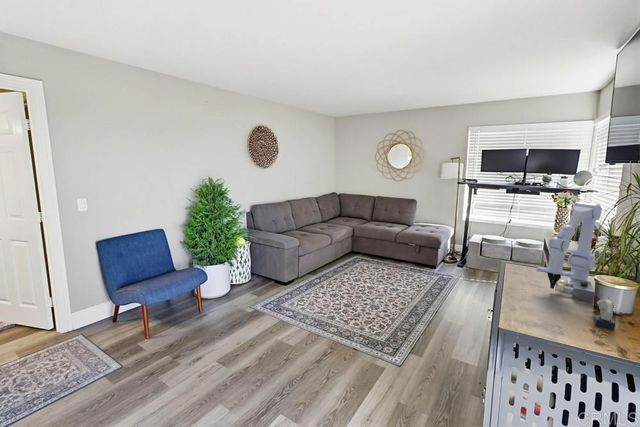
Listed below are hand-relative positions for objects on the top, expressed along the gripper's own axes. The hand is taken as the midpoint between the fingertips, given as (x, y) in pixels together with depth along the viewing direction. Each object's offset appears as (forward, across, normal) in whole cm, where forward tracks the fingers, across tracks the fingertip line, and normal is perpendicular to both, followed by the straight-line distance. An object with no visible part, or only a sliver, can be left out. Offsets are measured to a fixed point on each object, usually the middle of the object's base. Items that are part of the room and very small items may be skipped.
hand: (551, 287), depth 155 cm
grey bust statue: (+2, +16, -28) cm, 32 cm away
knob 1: (+1, +7, 0) cm, 7 cm away
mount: (+2, +12, +4) cm, 12 cm away
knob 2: (+1, +9, +7) cm, 11 cm away
